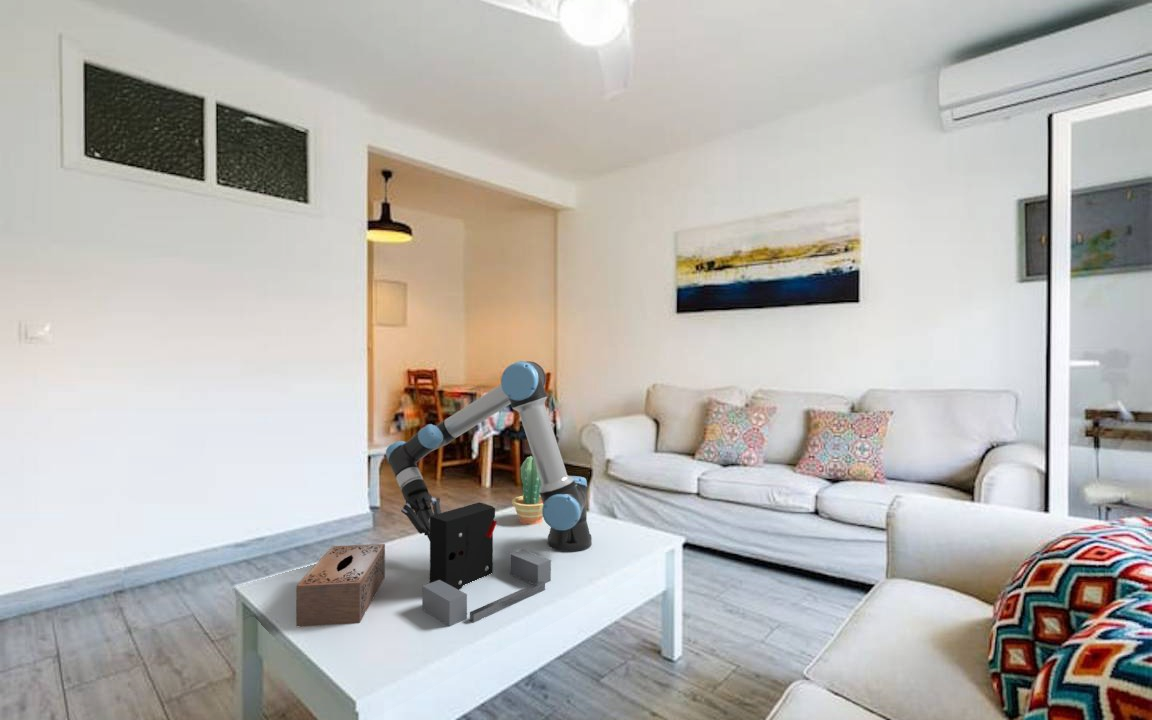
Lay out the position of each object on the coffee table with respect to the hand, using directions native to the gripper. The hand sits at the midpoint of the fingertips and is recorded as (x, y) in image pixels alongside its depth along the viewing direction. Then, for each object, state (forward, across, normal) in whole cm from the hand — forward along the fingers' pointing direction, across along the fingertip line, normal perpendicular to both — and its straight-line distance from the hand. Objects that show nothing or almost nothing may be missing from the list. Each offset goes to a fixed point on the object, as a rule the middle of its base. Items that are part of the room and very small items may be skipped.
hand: (441, 550), depth 156 cm
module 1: (+21, +14, +12) cm, 28 cm away
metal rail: (+26, 0, +18) cm, 32 cm away
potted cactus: (-6, -50, -15) cm, 53 cm away
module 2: (+21, -15, +12) cm, 28 cm away
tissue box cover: (+3, +28, -6) cm, 29 cm away
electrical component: (+12, 0, +3) cm, 12 cm away
